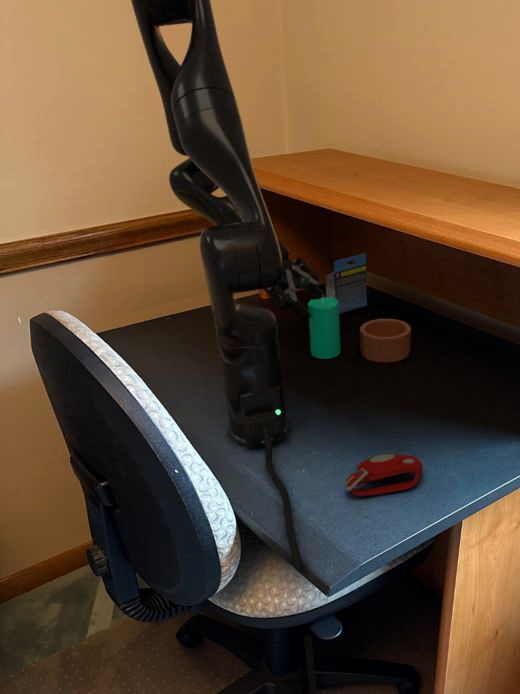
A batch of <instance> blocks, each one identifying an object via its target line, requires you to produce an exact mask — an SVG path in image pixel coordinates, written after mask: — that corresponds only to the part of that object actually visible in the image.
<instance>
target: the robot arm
mask: <svg viewBox="0 0 520 694" xmlns="http://www.w3.org/2000/svg"><path fill="white" fill-rule="evenodd" d="M130 3H131V6H132V9H133V13H134V16H135V20H136V23H137V26H138V29H139V33H140V36H141V40H142V43H143V46H144V50H145V54H146V56H147V59H148V62H149V65H150V68H151V71H152V74H153V76H154V79H155V82H156V83H155V84H156V85H157V86H156V87H157V89H158V91H159V92H158V93H159V95H160V98H161V102H162V107H163V111H164V116H165V121H166V125H167V130H168V135H169V140H170V143H171V146H172V148H173V150H175V152H176V153H177V154H179V155H182V156H185V157H188V158H186V159H185V160H183V161H182V162H181V163H180V164H177V165H175V166H174V167H173V168H172V170H171V171H170V172H169V176H168V182H169V186H170V188H171V191H172V193H173V194H174V195H175V197H176V199H178V200H179V201H180V202H181V203H182V204H183V205H185V206H186V207H188V208H190V209H191V210H193V212H196V213H197V214H199V215H200V216H202V217H203V218H204V219H205V220H208V221H209V222H210V223H211V224H213V225H214V226H208V227H205V228H204V229H202V231H201V233H200V237H199V251H200V258H201V264H202V269H203V273H204V277H205V282H206V286H207V291H208V296H209V302H210V307H211V314H212V318H213V325H214V331H215V338H216V346H217V352H218V358H219V365H220V371H221V378H222V383H223V388H224V389H223V390H224V397H225V403H226V409H227V415H228V420H229V422H228V423H229V432H230V436H231V439H232V440H233V441H234V442H235V443H238V444H240V445H243V446H246V447H247V448H248V449H249V450H251V449H255V448H259V447H263V446H265V447H264V448H265V456H264V457H265V459H264V460H265V466H266V470H267V473H268V475H269V477H270V478H271V480H272V482H273V484H274V485H275V487H276V488H277V489H278V491H279V494H280V497H281V500H282V505H283V515H284V516H283V517H284V525H285V530H286V531H285V532H286V536H287V541H288V544H289V547H290V551H291V557H292V562H293V568H294V569H295V570H296V571H300V570H302V569H303V563H302V559H301V553H300V549H299V544H298V542H297V541H298V540H297V537H296V534H295V530H294V524H293V517H292V508H291V501H290V496H289V493H288V489H287V488H286V485H284V483H283V482H282V480H281V478H279V476H278V475H277V473H276V470H275V467H274V463H273V444H276V443H280V442H284V441H286V436H287V433H288V429H289V427H288V420H287V416H286V415H287V413H286V405H285V396H284V395H285V394H284V386H283V385H284V384H283V374H282V364H281V363H282V362H281V354H280V343H279V334H278V333H279V332H278V324H277V323H278V322H277V318H276V316H275V314H274V313H273V312H272V311H271V310H270V309H267V308H265V307H262V306H259V305H254V304H249V303H245V302H241V301H239V300H237V299H235V298H234V295H235V294H239V293H247V292H253V291H260V290H263V291H264V293H266V294H267V296H268V297H269V298H270V300H272V302H273V303H274V304H275V305H276V306H277V307H278V309H279V310H281V311H283V310H285V309H287V310H290V311H291V312H292V313H293V314H294V315H295V316H296V317H297V318H298V319H299V320H300V321H301V323H306V322H307V321H309V318H310V317H311V313H310V312H309V311H308V308H307V307H306V306H305V305H304V304H303V303H302V302H301V301H300V300H298V297H297V294H296V289H298V290H304V291H306V292H308V293H309V295H310V296H311V297H312V298H313V300H314V299H320V298H322V295H323V298H324V297H327V294H326V293H325V292H324V290H323V289H321V287H320V286H319V280H320V279H321V278H320V275H318V273H316V272H315V270H314V269H313V268H312V267H311V266H310V265H309V264H308V263H307V262H306V261H305V260H304V259H303V258H302V257H301V256H298V257H297V258H296V259H294V261H292V260H291V259H290V258H289V255H290V250H289V248H288V247H287V246H286V245H285V244H284V243H283V241H281V239H280V238H279V237H278V236H277V233H276V232H275V231H276V230H275V228H274V226H273V222H272V219H271V216H270V214H269V213H270V212H269V211H268V208H267V205H266V202H265V200H264V197H263V194H262V191H261V188H260V185H259V182H258V178H257V176H256V173H255V169H254V165H253V160H252V158H251V157H252V156H251V153H250V150H249V145H248V141H247V137H246V133H245V129H244V124H243V121H242V117H241V113H240V109H239V105H238V102H237V98H236V95H235V92H234V89H233V85H232V83H231V79H230V76H229V72H228V70H227V66H226V63H225V60H224V56H223V53H222V49H221V44H220V41H219V37H218V32H217V27H216V22H215V17H214V13H213V8H212V3H211V0H130ZM184 24H191V33H190V39H189V42H188V47H187V50H186V53H185V55H184V57H183V60H182V62H181V64H180V63H179V62H178V61H177V59H176V58H175V57H174V55H173V54H172V52H171V51H170V50H169V48H168V46H167V44H166V42H165V40H164V37H163V35H162V32H161V28H160V27H167V26H168V27H169V26H175V25H184ZM218 189H220V190H221V191H222V192H223V193H224V194H225V195H224V196H216V195H215V194H213V193H215V192H216V191H217V190H218ZM303 643H304V652H305V660H306V669H307V679H308V688H309V689H308V690H309V694H318V689H317V680H316V670H315V669H316V668H315V660H314V652H313V651H314V649H313V641H312V634H309V635H307V636H304V637H303Z"/></svg>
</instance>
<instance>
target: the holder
mask: <svg viewBox="0 0 520 694" xmlns="http://www.w3.org/2000/svg"><path fill="white" fill-rule="evenodd" d="M359 338H360V341H359V342H360V355H361V356H362V357H363V358H364V359H366V360H368V361H370V362H376V363H395V362H399V361H402V360H405V359H407V358H408V357H409V355H410V354H411V349H412V348H411V346H412V328H411V325H409V323H407V322H406V321H403V320H400V319H395V318H377V319H371V320H368V321H366V322H364V323H363V324H362V325H360V327H359Z"/></svg>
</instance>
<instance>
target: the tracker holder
mask: <svg viewBox="0 0 520 694" xmlns="http://www.w3.org/2000/svg"><path fill="white" fill-rule="evenodd" d="M356 470H357V472H354V473H352V474H349V476H348V477H347V478H346V480H345V483H344V484H343V488H344V489H346V490H347V492H350V493H351V494H352V495H354V496H358V497H365V496H366V497H369V496H378V495H384V494H389V493H394V492H400V491H401V492H402V491H406V490H410V489H411V488H413V487H414V486H416V484H417V483H418V482H419V480H420V479H421V477H422V475H423V471H424V468H423V463H422V461H421V459H420V458H418V457H416V456H413V455H408V454H400V453H399V454H398V453H387V452H386V453H379V454H376V455H373V456H371V457H369V458H367V459H365V460H363V461H361V462H360V463H359V464H358V465H357V466H356ZM407 473H412V474H415V476H414V479H412V480H409V481H404V482H398V483H392V484H387V485H382V486H376V487H371V488H365V489H355V487H361V486H362V485H363V484H364V482H373V481H377V480H382V479H385V478H386V479H387V478H390V477H393V476H397V475H401V474H407Z"/></svg>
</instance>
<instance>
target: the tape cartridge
mask: <svg viewBox="0 0 520 694" xmlns="http://www.w3.org/2000/svg"><path fill="white" fill-rule="evenodd" d="M350 262H351V264H348V263H350ZM352 262H354V263H352ZM346 264H347V265H346ZM367 284H368V283H367V253H366V252H364V253H360V254H357V255H353V256H348V257H345V258H340V259H337V260H334V261H333V272H331V273H328V274H326V275H325V292H326V293H325V294H326V295H327V297H333V298H335V299H337V300H338V306H339V315H341V314H345V313H347V312H350V311H353V310H356V309H360V308H363V307H366V306H368V290H367V287H368V285H367Z"/></svg>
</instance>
